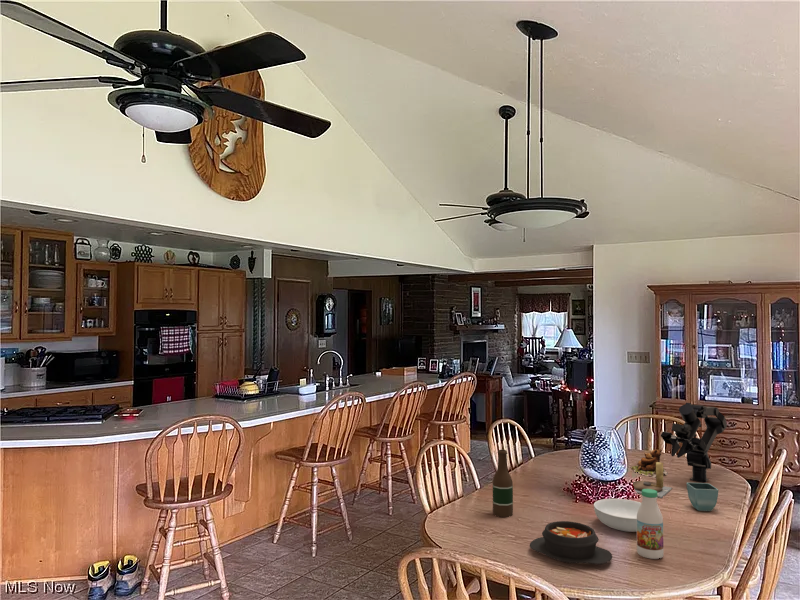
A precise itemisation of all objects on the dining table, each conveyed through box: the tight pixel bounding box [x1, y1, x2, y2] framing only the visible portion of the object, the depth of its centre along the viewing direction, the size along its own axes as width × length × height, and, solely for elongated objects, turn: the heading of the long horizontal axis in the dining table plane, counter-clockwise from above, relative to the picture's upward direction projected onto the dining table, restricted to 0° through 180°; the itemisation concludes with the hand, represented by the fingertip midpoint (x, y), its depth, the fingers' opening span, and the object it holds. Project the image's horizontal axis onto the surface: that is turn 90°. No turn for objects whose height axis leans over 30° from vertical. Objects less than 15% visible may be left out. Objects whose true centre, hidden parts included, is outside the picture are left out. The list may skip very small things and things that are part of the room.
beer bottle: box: [492, 449, 514, 518], centre depth 219 cm, size 8×8×24 cm
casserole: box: [529, 520, 613, 565], centre depth 181 cm, size 25×19×8 cm
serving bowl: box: [593, 498, 642, 533], centre depth 205 cm, size 21×21×7 cm
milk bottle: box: [636, 489, 664, 560], centre depth 182 cm, size 8×8×20 cm
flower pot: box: [686, 482, 719, 512], centre depth 224 cm, size 9×9×9 cm
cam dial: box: [632, 461, 664, 492], centre depth 248 cm, size 12×12×11 cm
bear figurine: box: [630, 448, 669, 478], centre depth 276 cm, size 14×15×12 cm
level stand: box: [635, 485, 673, 499], centre depth 248 cm, size 16×16×1 cm
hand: (674, 456), depth 251 cm, fingers open, 2 cm apart
